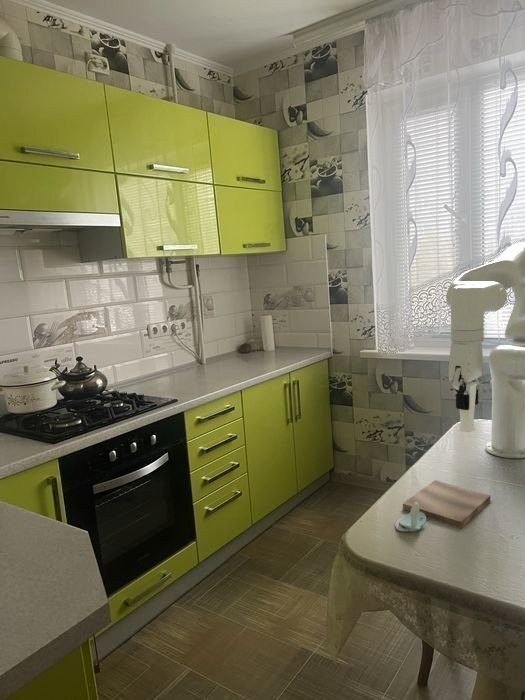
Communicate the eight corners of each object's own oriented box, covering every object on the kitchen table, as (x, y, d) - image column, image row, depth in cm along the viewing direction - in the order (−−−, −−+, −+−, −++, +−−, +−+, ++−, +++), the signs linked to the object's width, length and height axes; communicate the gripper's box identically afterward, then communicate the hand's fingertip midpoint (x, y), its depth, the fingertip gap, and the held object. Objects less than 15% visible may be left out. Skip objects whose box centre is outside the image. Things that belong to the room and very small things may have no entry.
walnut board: (435, 485, 132) (435, 480, 132) (490, 501, 122) (490, 495, 122) (402, 509, 121) (402, 503, 121) (460, 528, 111) (460, 522, 111)
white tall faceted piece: (477, 433, 128) (477, 375, 126) (458, 432, 130) (458, 374, 127) (475, 426, 133) (475, 370, 130) (457, 426, 134) (457, 370, 131)
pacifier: (390, 531, 112) (416, 538, 109) (388, 504, 111) (415, 510, 108) (403, 517, 118) (429, 523, 114) (402, 491, 117) (428, 496, 113)
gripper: (466, 329, 135) (467, 396, 139) (436, 340, 124) (437, 412, 127) (496, 330, 130) (495, 400, 133) (467, 342, 118) (467, 418, 122)
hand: (467, 405), depth 130 cm, fingers closed on white tall faceted piece, 4 cm apart
